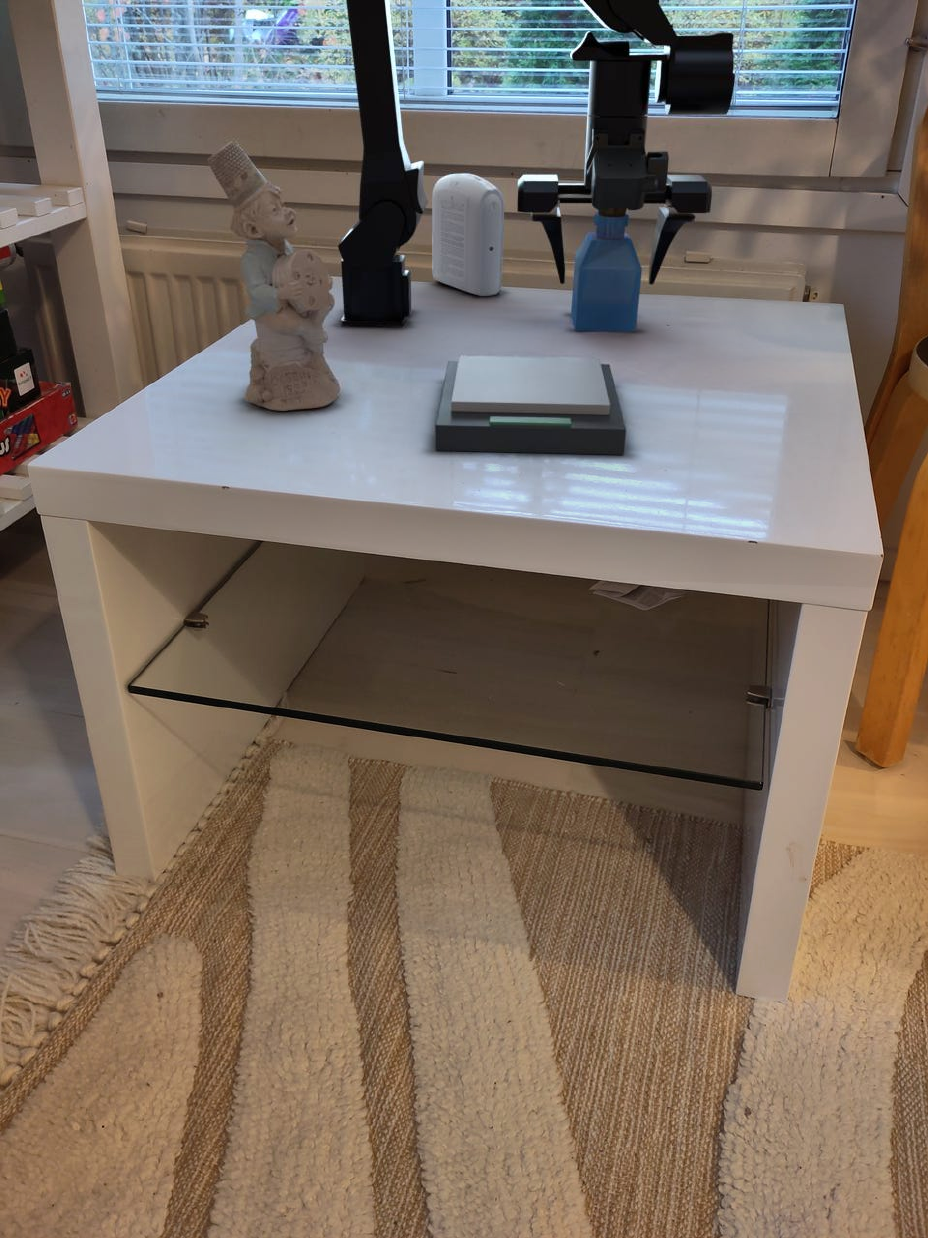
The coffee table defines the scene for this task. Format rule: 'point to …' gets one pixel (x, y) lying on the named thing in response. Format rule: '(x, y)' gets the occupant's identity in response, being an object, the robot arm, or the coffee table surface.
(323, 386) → the figurine
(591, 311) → the perfume bottle
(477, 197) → the photo printer
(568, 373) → the scale
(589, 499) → the coffee table surface
